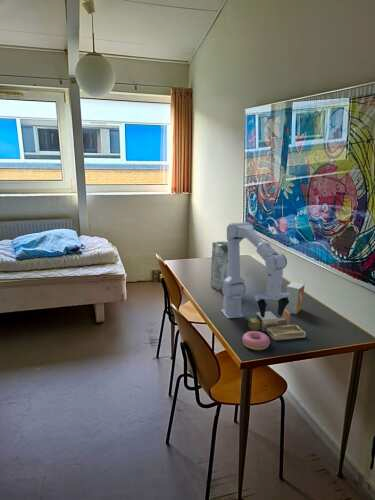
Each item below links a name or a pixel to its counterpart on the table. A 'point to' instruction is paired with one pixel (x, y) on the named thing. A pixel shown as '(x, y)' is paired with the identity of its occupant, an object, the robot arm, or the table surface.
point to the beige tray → (285, 332)
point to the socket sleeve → (267, 320)
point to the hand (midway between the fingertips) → (271, 315)
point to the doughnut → (256, 340)
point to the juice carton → (219, 264)
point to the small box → (295, 297)
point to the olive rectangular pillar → (255, 323)
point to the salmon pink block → (284, 318)
